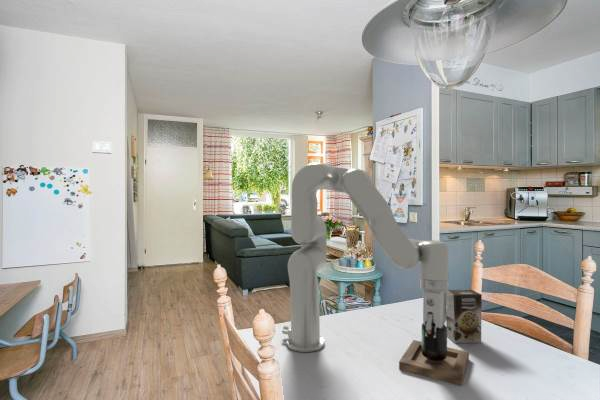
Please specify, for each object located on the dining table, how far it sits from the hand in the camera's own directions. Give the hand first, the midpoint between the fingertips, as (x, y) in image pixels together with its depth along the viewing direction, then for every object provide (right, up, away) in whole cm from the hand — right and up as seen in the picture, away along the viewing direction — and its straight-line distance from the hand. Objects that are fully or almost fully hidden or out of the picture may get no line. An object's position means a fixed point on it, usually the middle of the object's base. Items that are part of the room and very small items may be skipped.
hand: (434, 344), depth 98 cm
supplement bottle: (0, -3, 0) cm, 3 cm away
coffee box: (+16, -5, +16) cm, 23 cm away
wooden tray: (0, -6, 0) cm, 6 cm away
